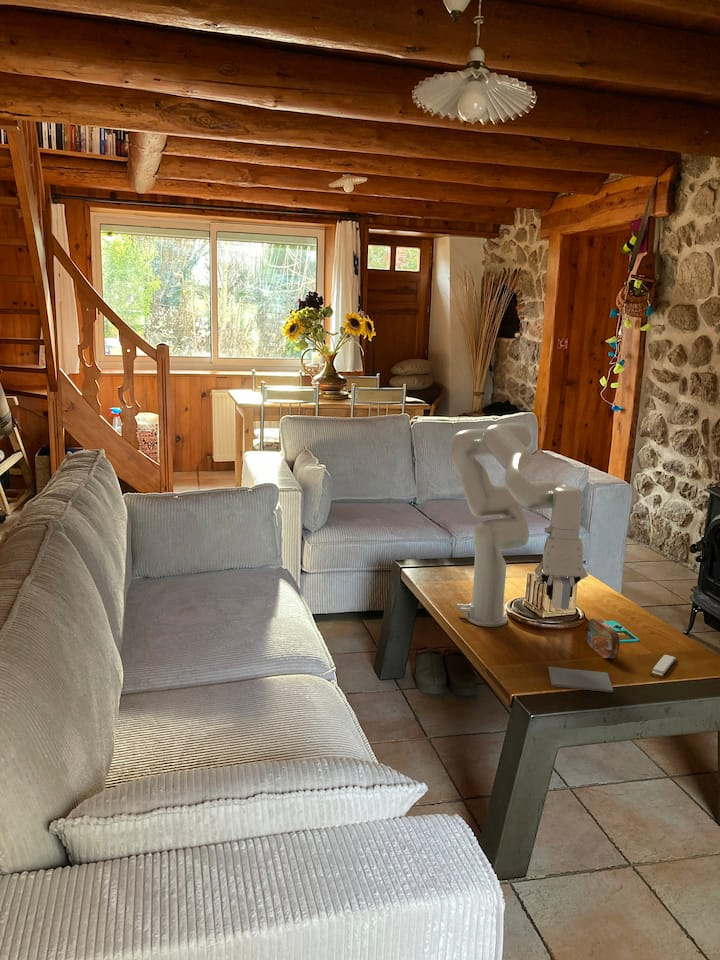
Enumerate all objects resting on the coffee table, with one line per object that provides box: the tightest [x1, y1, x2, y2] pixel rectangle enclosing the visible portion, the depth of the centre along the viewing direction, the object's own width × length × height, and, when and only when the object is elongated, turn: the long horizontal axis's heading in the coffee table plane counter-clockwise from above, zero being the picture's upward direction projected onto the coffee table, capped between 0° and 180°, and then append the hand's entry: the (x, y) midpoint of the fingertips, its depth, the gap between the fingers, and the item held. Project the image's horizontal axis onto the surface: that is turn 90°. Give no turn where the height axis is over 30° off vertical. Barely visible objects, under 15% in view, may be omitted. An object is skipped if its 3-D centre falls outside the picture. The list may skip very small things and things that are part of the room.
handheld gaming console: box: [603, 620, 640, 643], centre depth 227 cm, size 8×1×15 cm
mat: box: [548, 666, 614, 693], centre depth 194 cm, size 15×10×1 cm, turn 80°
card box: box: [549, 576, 571, 610], centre depth 203 cm, size 4×9×7 cm, turn 174°
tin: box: [585, 618, 621, 659], centre depth 212 cm, size 15×3×8 cm, turn 10°
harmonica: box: [649, 654, 677, 679], centre depth 203 cm, size 15×3×2 cm, turn 144°
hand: (558, 597), depth 204 cm, fingers closed on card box, 3 cm apart
